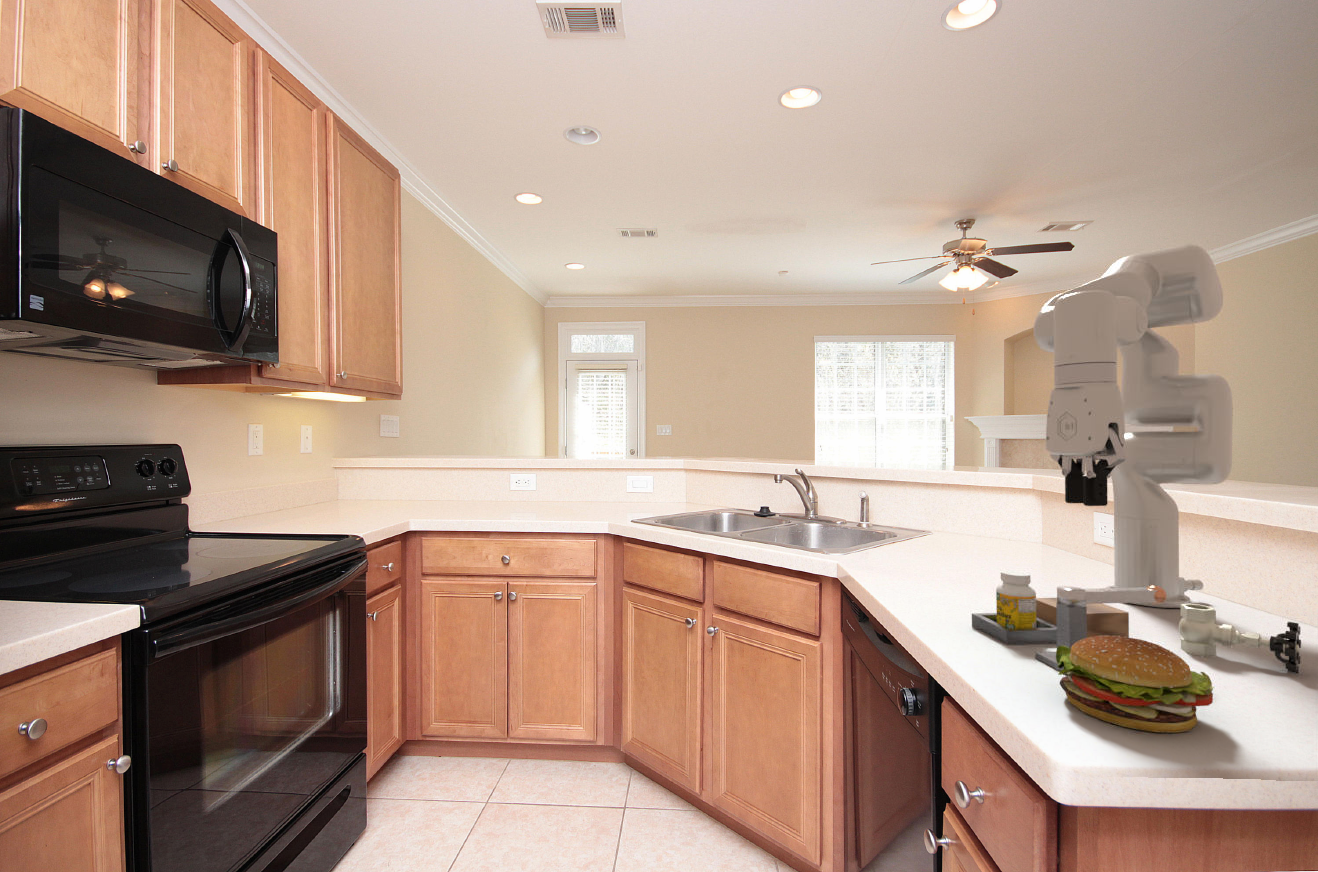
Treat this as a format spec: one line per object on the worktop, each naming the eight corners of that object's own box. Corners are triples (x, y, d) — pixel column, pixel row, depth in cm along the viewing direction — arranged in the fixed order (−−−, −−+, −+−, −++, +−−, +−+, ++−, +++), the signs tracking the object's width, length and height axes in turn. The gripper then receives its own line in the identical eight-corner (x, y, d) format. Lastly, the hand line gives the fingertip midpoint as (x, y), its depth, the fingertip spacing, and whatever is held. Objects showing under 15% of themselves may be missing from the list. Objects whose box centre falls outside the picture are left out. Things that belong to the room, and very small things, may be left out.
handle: (1153, 600, 84) (1153, 582, 84) (1174, 606, 81) (1174, 588, 81) (1051, 602, 83) (1051, 585, 83) (1068, 609, 80) (1068, 590, 80)
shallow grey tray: (1024, 624, 99) (1024, 612, 99) (1064, 642, 90) (1064, 629, 90) (971, 625, 99) (971, 613, 99) (1006, 644, 90) (1006, 631, 90)
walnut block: (1083, 620, 101) (1083, 597, 101) (1128, 638, 92) (1128, 612, 92) (1032, 622, 100) (1032, 598, 100) (1072, 640, 91) (1072, 613, 92)
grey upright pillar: (1076, 656, 85) (1075, 598, 85) (1110, 673, 79) (1110, 610, 79) (1035, 657, 84) (1034, 599, 84) (1066, 674, 78) (1066, 611, 78)
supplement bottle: (1044, 639, 92) (1043, 576, 92) (1010, 640, 92) (1009, 577, 92) (1021, 628, 97) (1021, 568, 97) (989, 629, 97) (988, 569, 97)
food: (1252, 737, 62) (1252, 659, 62) (1126, 744, 61) (1125, 665, 61) (1135, 683, 76) (1135, 619, 76) (1030, 688, 75) (1030, 623, 75)
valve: (1173, 654, 86) (1295, 680, 77) (1173, 607, 86) (1295, 628, 77) (1184, 644, 90) (1301, 667, 81) (1184, 599, 90) (1301, 618, 81)
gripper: (1023, 383, 96) (1024, 499, 96) (1104, 372, 80) (1106, 511, 80) (1068, 383, 96) (1069, 498, 96) (1158, 372, 80) (1159, 510, 80)
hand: (1085, 503), depth 88 cm, fingers closed
